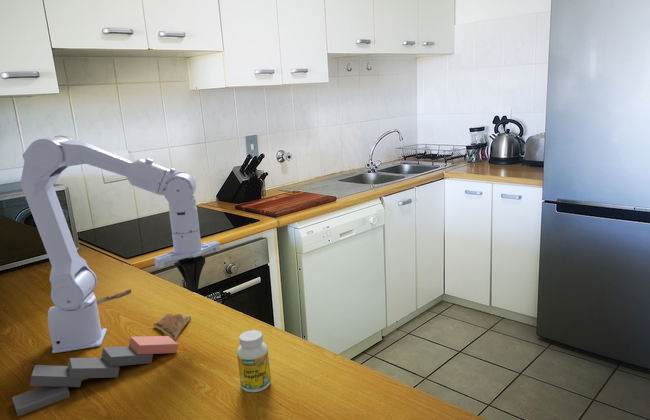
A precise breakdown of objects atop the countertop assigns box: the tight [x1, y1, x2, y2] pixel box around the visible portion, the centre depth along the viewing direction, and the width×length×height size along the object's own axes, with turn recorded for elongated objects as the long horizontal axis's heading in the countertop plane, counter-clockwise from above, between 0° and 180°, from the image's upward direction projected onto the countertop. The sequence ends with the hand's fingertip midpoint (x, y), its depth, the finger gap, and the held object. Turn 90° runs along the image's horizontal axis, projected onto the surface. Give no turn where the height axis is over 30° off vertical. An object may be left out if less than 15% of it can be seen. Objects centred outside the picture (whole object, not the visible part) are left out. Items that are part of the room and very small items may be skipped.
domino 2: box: [11, 386, 71, 417], centre depth 87 cm, size 2×5×8 cm
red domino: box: [128, 335, 179, 355], centre depth 100 cm, size 2×5×8 cm
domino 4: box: [100, 345, 154, 367], centre depth 96 cm, size 2×5×8 cm
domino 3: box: [67, 357, 120, 379], centre depth 92 cm, size 2×5×8 cm
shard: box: [152, 313, 192, 341], centre depth 111 cm, size 11×8×2 cm
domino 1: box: [29, 364, 83, 388], centre depth 90 cm, size 2×5×8 cm
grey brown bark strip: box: [96, 289, 132, 306], centre depth 130 cm, size 12×1×5 cm
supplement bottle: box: [236, 329, 272, 393], centre depth 87 cm, size 5×5×10 cm
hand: (192, 290), depth 108 cm, fingers closed
